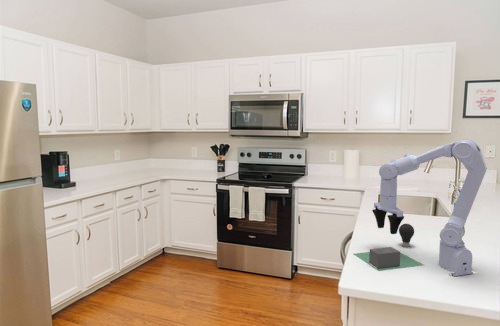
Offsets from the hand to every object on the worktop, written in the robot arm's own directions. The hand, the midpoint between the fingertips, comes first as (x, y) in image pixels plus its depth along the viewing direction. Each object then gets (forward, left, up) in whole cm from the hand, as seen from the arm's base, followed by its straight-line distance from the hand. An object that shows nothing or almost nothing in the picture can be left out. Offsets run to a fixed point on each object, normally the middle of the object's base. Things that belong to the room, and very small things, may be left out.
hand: (387, 230), depth 130 cm
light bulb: (+4, -12, -10) cm, 16 cm away
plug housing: (-10, +8, -8) cm, 15 cm away
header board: (-6, +4, -9) cm, 12 cm away
